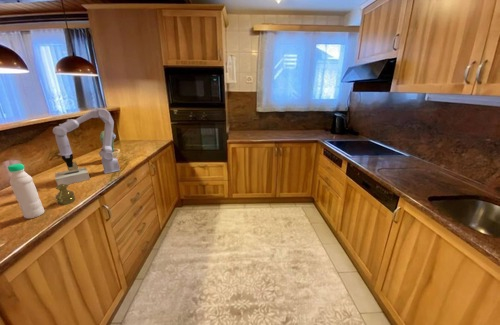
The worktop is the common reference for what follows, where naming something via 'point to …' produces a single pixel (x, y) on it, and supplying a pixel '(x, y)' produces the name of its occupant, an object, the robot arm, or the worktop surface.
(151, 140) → the worktop surface
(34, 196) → the white bottle
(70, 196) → the olive green lumpy piece
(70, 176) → the box
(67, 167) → the wooden block
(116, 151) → the potted cactus
